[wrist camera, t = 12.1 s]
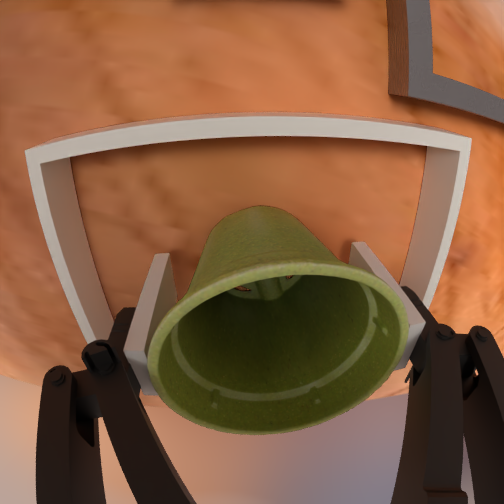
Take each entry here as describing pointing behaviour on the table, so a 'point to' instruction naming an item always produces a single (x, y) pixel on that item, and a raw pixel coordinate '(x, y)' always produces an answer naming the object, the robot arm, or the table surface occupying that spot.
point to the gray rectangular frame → (240, 125)
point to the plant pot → (274, 331)
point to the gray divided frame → (428, 64)
